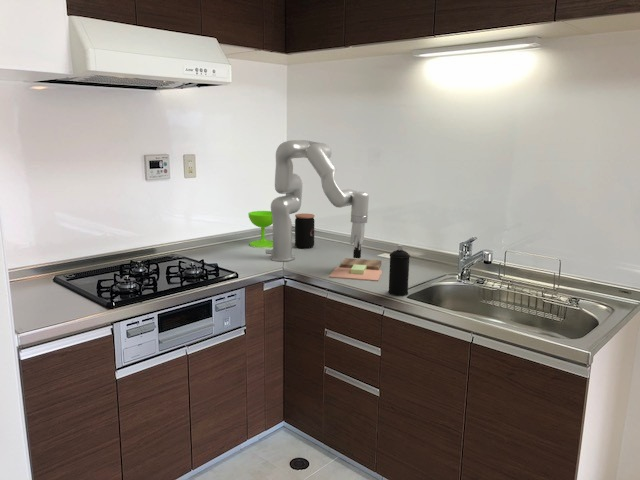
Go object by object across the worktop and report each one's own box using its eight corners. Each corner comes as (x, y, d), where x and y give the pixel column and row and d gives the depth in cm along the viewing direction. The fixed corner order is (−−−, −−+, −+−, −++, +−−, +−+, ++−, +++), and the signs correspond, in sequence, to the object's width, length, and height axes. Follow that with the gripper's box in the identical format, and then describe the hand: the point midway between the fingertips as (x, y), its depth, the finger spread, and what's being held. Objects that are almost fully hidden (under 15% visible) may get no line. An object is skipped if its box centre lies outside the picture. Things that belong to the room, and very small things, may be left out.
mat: (328, 277, 233) (329, 276, 232) (336, 268, 248) (336, 267, 248) (378, 281, 228) (378, 280, 227) (382, 271, 243) (382, 270, 243)
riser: (340, 268, 247) (340, 264, 247) (345, 262, 259) (345, 258, 258) (378, 271, 243) (378, 267, 243) (381, 264, 255) (381, 260, 254)
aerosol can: (403, 297, 206) (405, 248, 202) (384, 293, 211) (386, 245, 206) (411, 292, 213) (413, 244, 209) (393, 288, 218) (394, 241, 213)
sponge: (350, 273, 237) (350, 269, 237) (353, 268, 246) (353, 264, 245) (363, 274, 236) (363, 270, 235) (366, 269, 244) (366, 265, 244)
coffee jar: (313, 249, 284) (314, 216, 281) (294, 249, 285) (294, 216, 281) (314, 244, 295) (314, 213, 291) (295, 244, 295) (295, 213, 291)
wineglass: (282, 243, 299) (281, 212, 295) (269, 249, 284) (269, 216, 280) (257, 240, 304) (256, 210, 300) (243, 246, 290) (243, 214, 286)
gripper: (353, 215, 245) (351, 253, 249) (348, 221, 231) (345, 261, 235) (369, 216, 243) (367, 254, 248) (364, 222, 229) (362, 262, 233)
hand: (356, 257), depth 241 cm, fingers closed
